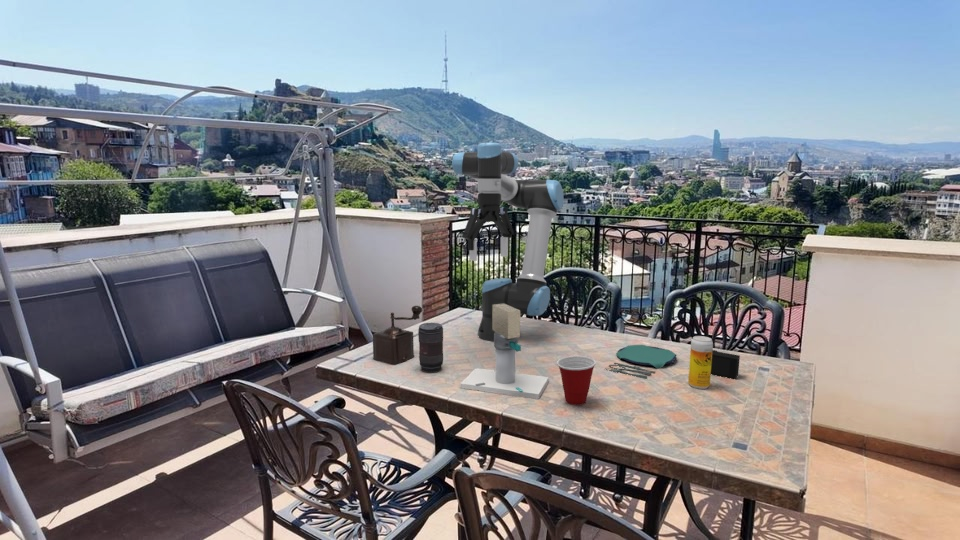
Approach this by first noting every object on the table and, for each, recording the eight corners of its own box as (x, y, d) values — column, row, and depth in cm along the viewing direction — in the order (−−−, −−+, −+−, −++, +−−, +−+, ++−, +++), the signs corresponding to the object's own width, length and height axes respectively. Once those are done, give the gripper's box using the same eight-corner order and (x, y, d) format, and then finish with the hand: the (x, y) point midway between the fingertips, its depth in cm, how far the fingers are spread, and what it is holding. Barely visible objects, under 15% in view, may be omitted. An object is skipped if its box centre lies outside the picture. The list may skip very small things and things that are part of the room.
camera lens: (414, 371, 172) (413, 326, 169) (427, 363, 179) (427, 321, 176) (435, 375, 168) (434, 330, 165) (448, 367, 175) (447, 324, 172)
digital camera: (739, 375, 169) (741, 354, 168) (735, 380, 165) (737, 358, 164) (705, 368, 175) (706, 348, 174) (701, 373, 171) (702, 352, 170)
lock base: (475, 372, 170) (475, 337, 168) (548, 381, 163) (549, 344, 161) (460, 388, 157) (459, 350, 155) (538, 399, 149) (539, 359, 147)
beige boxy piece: (487, 343, 161) (488, 305, 159) (507, 340, 164) (508, 303, 162) (508, 355, 149) (508, 314, 147) (529, 352, 152) (530, 312, 150)
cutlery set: (684, 357, 186) (684, 351, 186) (651, 383, 163) (651, 376, 163) (631, 347, 199) (631, 341, 198) (593, 369, 176) (594, 363, 175)
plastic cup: (553, 393, 154) (554, 354, 152) (590, 393, 153) (592, 354, 151) (557, 409, 143) (559, 367, 141) (597, 409, 143) (599, 367, 141)
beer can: (700, 391, 156) (703, 342, 153) (683, 384, 161) (687, 337, 158) (714, 387, 158) (717, 339, 156) (697, 380, 164) (700, 334, 161)
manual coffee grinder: (395, 365, 176) (394, 314, 173) (372, 359, 183) (370, 309, 180) (425, 353, 189) (424, 305, 186) (403, 348, 195) (402, 301, 192)
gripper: (466, 193, 156) (466, 263, 159) (525, 192, 172) (524, 256, 175) (451, 192, 161) (451, 260, 165) (509, 192, 177) (508, 253, 181)
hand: (489, 258), depth 170 cm, fingers open, 13 cm apart
